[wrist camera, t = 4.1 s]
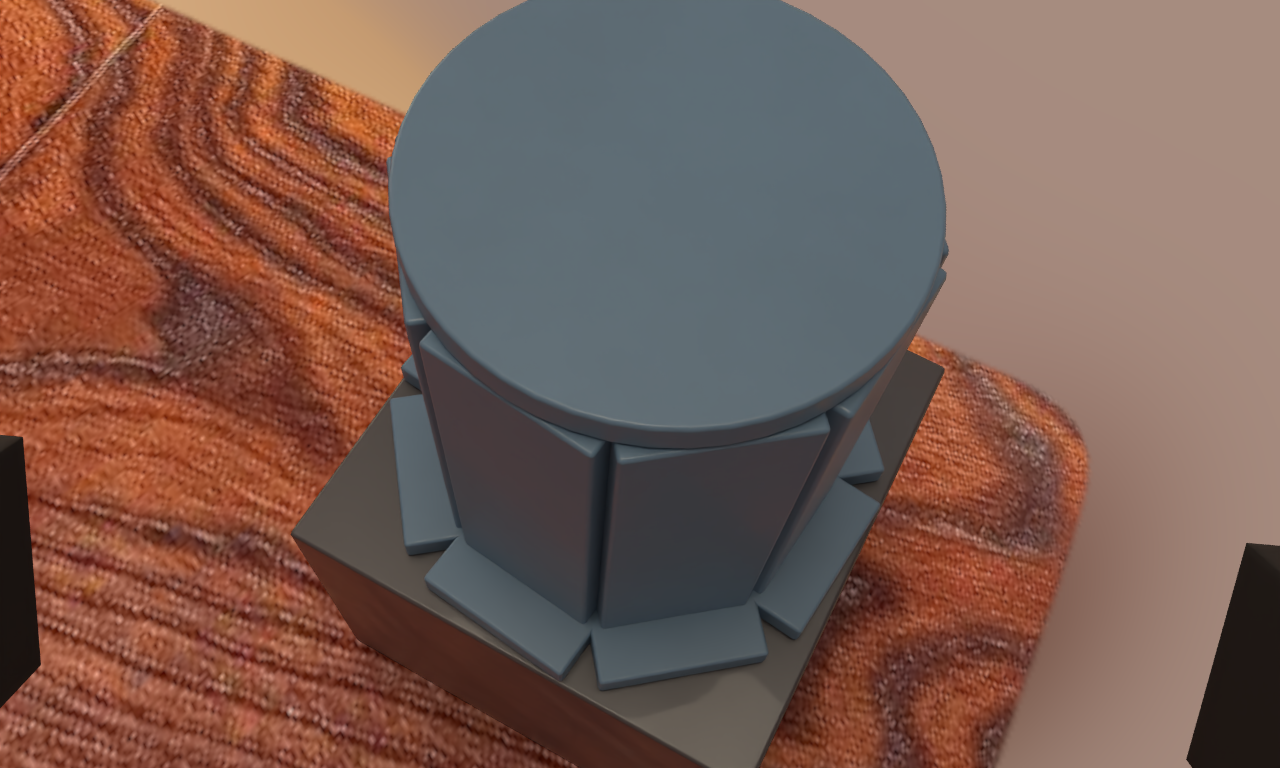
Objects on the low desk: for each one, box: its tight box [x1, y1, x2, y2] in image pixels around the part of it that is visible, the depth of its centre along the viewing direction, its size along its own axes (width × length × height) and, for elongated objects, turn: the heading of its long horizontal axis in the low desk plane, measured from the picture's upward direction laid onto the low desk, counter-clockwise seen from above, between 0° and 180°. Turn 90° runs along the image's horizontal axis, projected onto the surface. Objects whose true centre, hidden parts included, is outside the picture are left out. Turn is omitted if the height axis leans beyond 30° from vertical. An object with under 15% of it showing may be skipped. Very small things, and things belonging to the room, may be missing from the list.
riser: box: [291, 350, 944, 768], centre depth 27 cm, size 10×10×8 cm
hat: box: [386, 0, 949, 691], centre depth 20 cm, size 10×10×9 cm
